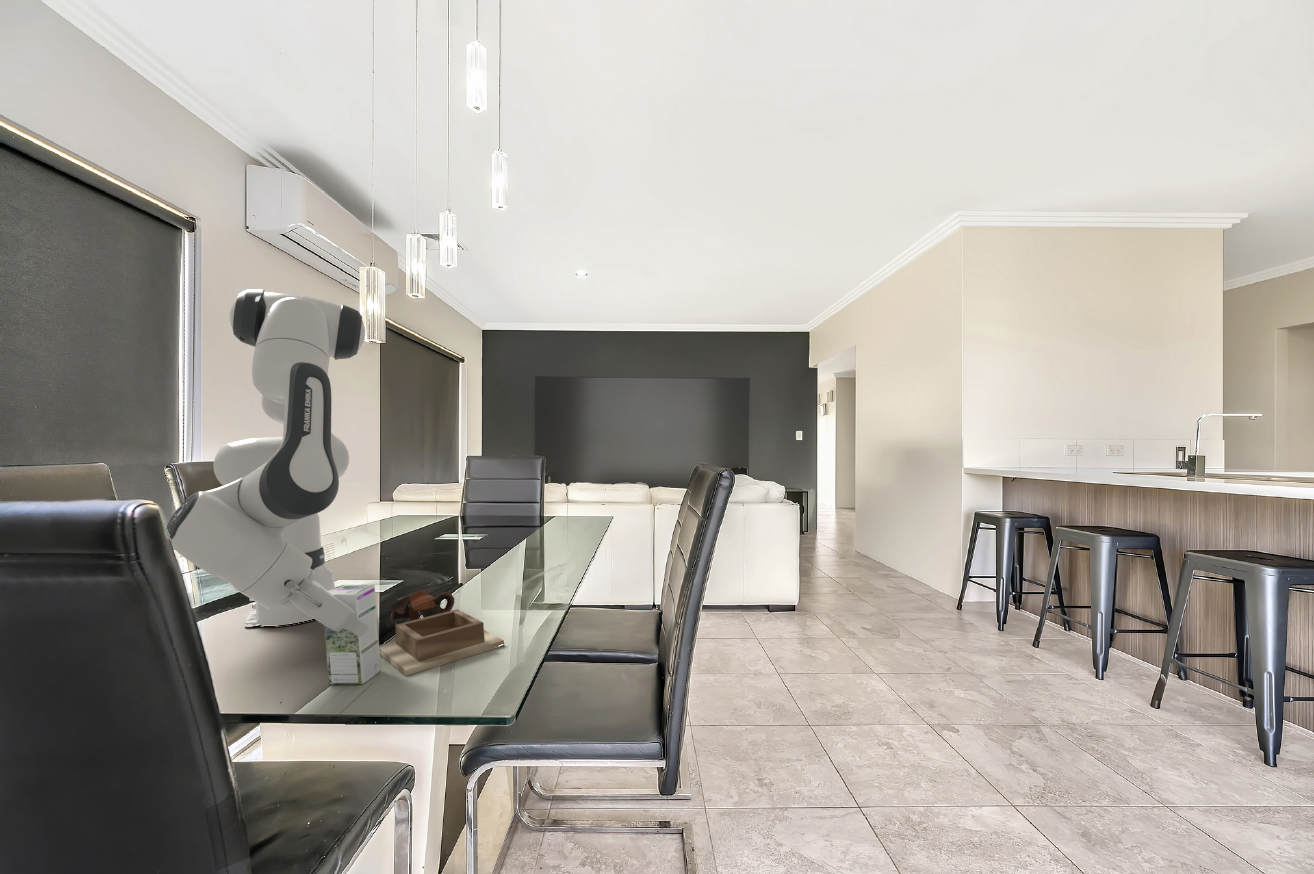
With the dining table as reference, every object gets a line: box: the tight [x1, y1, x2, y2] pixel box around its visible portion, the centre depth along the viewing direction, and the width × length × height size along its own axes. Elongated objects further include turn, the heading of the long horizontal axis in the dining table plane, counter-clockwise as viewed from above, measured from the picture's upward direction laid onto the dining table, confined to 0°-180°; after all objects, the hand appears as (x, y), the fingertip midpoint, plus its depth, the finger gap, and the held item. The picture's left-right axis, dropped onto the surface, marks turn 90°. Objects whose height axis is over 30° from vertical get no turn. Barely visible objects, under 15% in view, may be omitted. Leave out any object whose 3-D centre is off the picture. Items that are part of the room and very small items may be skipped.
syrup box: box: [323, 583, 382, 686], centre depth 97 cm, size 6×6×14 cm
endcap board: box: [379, 608, 505, 677], centre depth 108 cm, size 15×17×4 cm
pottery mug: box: [389, 589, 455, 622], centre depth 122 cm, size 12×10×8 cm
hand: (356, 624), depth 98 cm, fingers closed on syrup box, 8 cm apart
